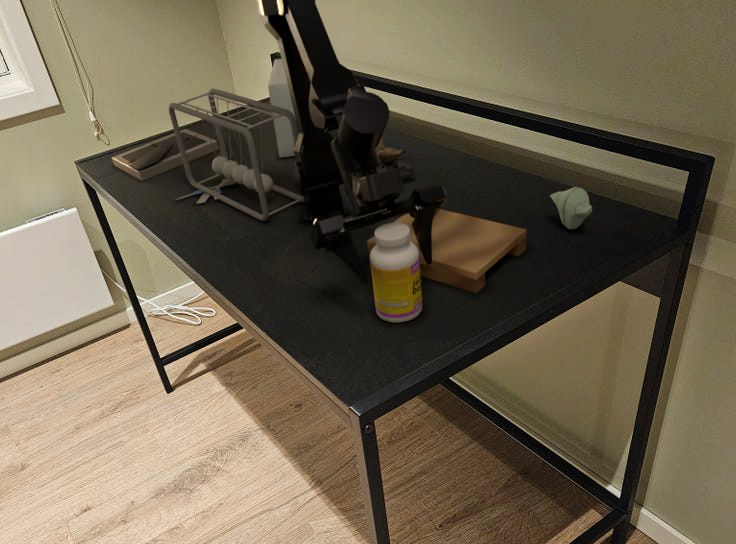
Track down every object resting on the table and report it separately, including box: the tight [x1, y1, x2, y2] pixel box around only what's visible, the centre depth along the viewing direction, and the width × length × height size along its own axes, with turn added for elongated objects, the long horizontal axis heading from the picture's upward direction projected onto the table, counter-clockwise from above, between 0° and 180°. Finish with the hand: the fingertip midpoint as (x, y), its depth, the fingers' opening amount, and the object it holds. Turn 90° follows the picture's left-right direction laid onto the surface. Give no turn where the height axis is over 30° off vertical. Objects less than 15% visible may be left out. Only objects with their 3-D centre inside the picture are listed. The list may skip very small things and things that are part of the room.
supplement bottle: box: [369, 222, 423, 323], centre depth 90 cm, size 7×7×13 cm
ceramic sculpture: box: [376, 137, 407, 164], centre depth 134 cm, size 11×9×15 cm
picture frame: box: [111, 128, 220, 182], centre depth 158 cm, size 16×3×21 cm
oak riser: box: [366, 208, 527, 294], centre depth 103 cm, size 20×14×4 cm
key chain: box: [175, 178, 237, 205], centre depth 137 cm, size 14×8×1 cm, turn 126°
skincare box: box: [267, 58, 299, 159], centre depth 150 cm, size 21×6×16 cm, turn 179°
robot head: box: [549, 186, 593, 230], centre depth 103 cm, size 8×4×7 cm, turn 25°
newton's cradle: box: [168, 88, 305, 222], centre depth 129 cm, size 30×10×18 cm, turn 39°
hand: (398, 273), depth 89 cm, fingers open, 9 cm apart
